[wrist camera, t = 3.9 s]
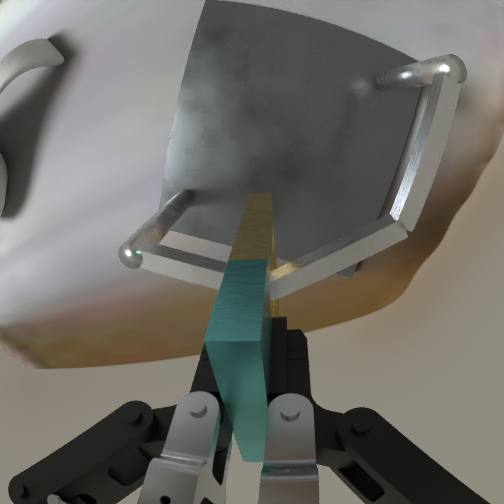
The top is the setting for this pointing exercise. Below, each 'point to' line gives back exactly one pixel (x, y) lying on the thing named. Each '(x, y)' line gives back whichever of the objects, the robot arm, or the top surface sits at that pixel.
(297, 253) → the rod stand
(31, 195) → the top surface
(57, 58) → the spoon rest
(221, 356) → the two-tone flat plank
